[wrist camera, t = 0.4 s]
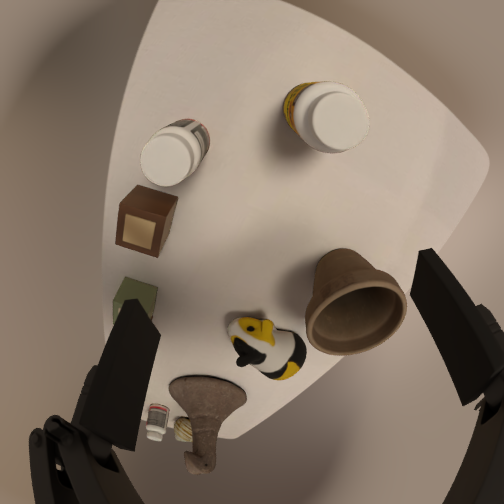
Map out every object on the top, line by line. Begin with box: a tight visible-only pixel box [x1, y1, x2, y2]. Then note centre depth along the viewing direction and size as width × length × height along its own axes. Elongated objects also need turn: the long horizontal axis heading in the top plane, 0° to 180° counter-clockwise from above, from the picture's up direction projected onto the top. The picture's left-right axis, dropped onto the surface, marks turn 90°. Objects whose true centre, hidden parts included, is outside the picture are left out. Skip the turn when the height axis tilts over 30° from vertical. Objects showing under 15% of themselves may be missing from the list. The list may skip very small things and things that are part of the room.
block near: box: [115, 185, 178, 258], centre depth 27 cm, size 5×5×5 cm
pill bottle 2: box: [140, 119, 210, 186], centre depth 22 cm, size 5×5×8 cm
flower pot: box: [305, 249, 407, 355], centre depth 30 cm, size 12×11×10 cm
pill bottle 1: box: [146, 404, 169, 441], centre depth 57 cm, size 5×5×10 cm
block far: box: [113, 277, 158, 324], centre depth 35 cm, size 5×5×5 cm
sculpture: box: [169, 376, 247, 475], centre depth 45 cm, size 17×17×20 cm
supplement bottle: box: [283, 81, 369, 153], centre depth 19 cm, size 6×6×10 cm
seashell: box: [174, 418, 193, 442], centre depth 63 cm, size 10×10×10 cm
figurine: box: [227, 317, 307, 380], centre depth 38 cm, size 8×15×8 cm, turn 40°
